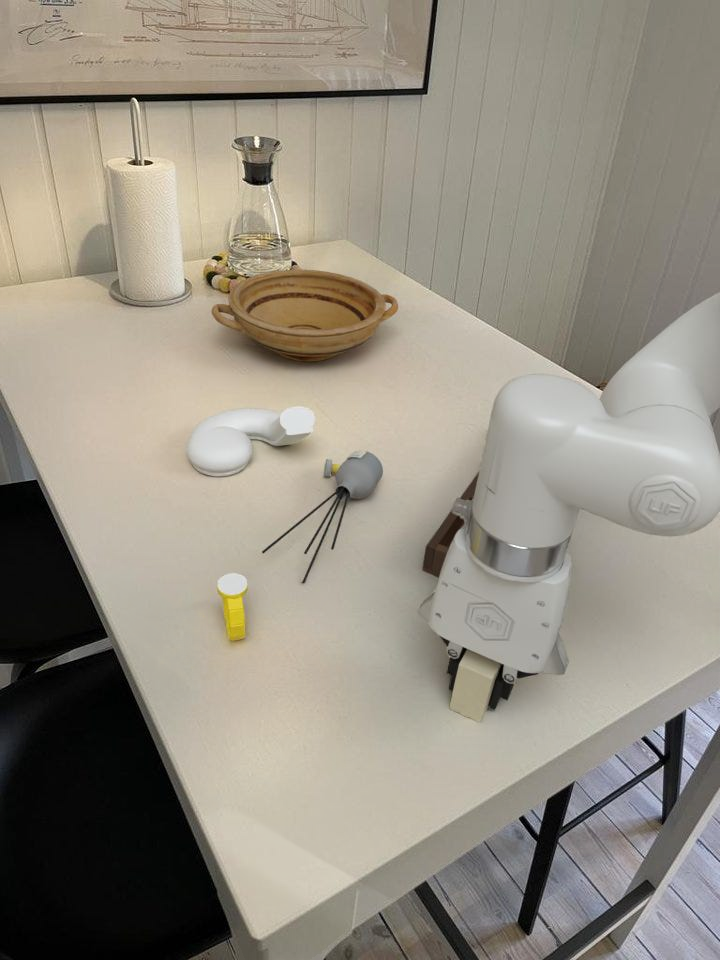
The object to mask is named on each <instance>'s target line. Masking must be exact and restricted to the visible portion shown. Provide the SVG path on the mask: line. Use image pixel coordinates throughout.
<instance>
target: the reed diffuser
mask: <svg viewBox="0 0 720 960" xmlns="http://www.w3.org/2000/svg"><path fill="white" fill-rule="evenodd" d="M323 471H324V472H323V477H326V478H327V477H328V478H331V476H332V475H331V474H335V483H336V486H337V487H336V489H335V492H333V493H332V494H331V495H330V496H328V497H327V498H326V499H325V500H323V501H322V502H321V503H320V504H318V505H317V506H316V507H315V508H313V509H312V510H311V511H310V512H308V513H307V514H306V515H305V516H304V517H302V518H301V519H300V520H299V521H298V522H296V523H295V524H294V525H293V526H291V527H289V529H288V530H287V531H285V532H284V533H283V534H282V535H280V536H279V537H278V538H276V539H275V540H274V541H273V542H272V543H271V544H269V545H268V546H266V547H265V548H264V549H263V550H262V551H261V554H265V553H266V552H267V551H269V550H270V549H272V547H274V546H275V545H276V544H278V542H280V541H281V540H282V539H283V538H285V537H286V536H287V535H288V534H290V532H292V531H293V530H295V528H297V527H298V526H299V525H301V524H302V523H303V522H304V521H306V520H307V519H308V518H309V517H310V516H311V515H313V514H314V513H315V512H316V511H318V510H319V509H320V508H321V507H323V506H324V505H325V504H326V503H327V502H328V501H330V500H331V499H333V498H334V497H335V496H336V497H335V499H334V501H333V502H332V503H331V506H330V507H329V509H328V511H327V513H326V515H325V516H324V518H323V519H322V521H321V523H320V525H319V526H318V528H317V530H316V531H315V533H314V534H313V537H312V539H311V540H310V542H309V544H308V545H307V547H306V549H305V550H304V552H303V554H304V555H307V554H308V552H309V550H310V549H311V547H312V545H313V544H314V543H315V540H316V538H317V537H318V535H319V533H320V532H321V530H322V528H323V526H324V524H325V523H326V521H327V520H328V518H329V516H330V514H331V516H330V518H329V520H328V523H327V525H326V527H325V529H324V532H323V533H322V536H321V538H320V540H319V543H318V546H317V547H316V550H315V552H314V554H313V557H312V559H311V561H310V563H309V565H308V568H307V570H306V573H305V574H304V577H303V579H302V581H301V582H302V584H305V583H306V581H307V578H308V576H309V573H310V571H311V569H312V568H313V565H314V562H315V560H316V558H317V556H318V553H319V552H320V549H321V546H322V544H323V542H324V539H325V537H326V536H327V533H328V530H329V528H330V526H331V524H332V521H333V520H334V517H335V515H336V512H337V510H338V508H339V506H340V503H341V501H344V503H343V506H342V510H341V513H340V517H339V520H338V524H337V526H336V530H335V534H334V537H333V540H332V544H331V546H330V549H331V550H332V551H333V550H334V549H335V546H336V543H337V539H338V535H339V532H340V528H341V525H342V522H343V518H344V515H345V511H346V508H347V504H348V500H349V499H350V498H351V499H354V500H358V499H360V500H361V499H363V498H366V497H367V496H369V495H370V494H371V493H372V492H373V490H374V489H375V488H376V487H377V485H378V484H379V483H380V481H381V479H382V477H383V475H384V469H383V464H382V463H381V461H380V459H379V458H378V457H377V456H376V455H375V454H374V453H372V452H369V451H367V450H361V449H360V450H355V451H352V453H350V455H349V456H347V457H346V459H345V460H344V461H343V462H342V463H341V464H336V463H333V459H329V458H326V459H325V465H324V470H323ZM332 511H333V512H332ZM331 512H332V513H331Z"/></svg>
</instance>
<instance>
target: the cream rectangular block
mask: <svg viewBox="0 0 720 960" xmlns="http://www.w3.org/2000/svg"><path fill="white" fill-rule="evenodd" d="M501 666H502V664H501V663H499V662H497V661H494V660H492V659H489V658H487V657H485V656H483V655H480V654H478V653H476V652H473V651H471V650H469V649H467V650H466V652H465V654H464V656H463V658H462V660H461V661H460V663H459V667H458V671H457V675H456V680H455V684H454V688H453V691H452V694H451V697H450V701H449V706H448V710H452V711H453V712H455V713H457V714H460V715H462V716H464V717H467V718H468V719H471V720H472V721H475V722H478V724H482V721H483V719H484V717H485V714H487V713H486V712H487V710H488V708H489V706H488V704H489V700H490V696H491V693H492V689H493V686H494V682H495V679H496V677H497V675H498V673H499V671H500V669H501Z"/></svg>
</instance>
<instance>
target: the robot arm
mask: <svg viewBox="0 0 720 960" xmlns="http://www.w3.org/2000/svg"><path fill="white" fill-rule="evenodd" d="M719 409H720V292H717V293H716V294H713V295H712V296H710V297H708V298H706V299H705V300H703V301H700V303H698V304H697V305H694V306H693V307H692V308H690V309H689V310H687V311H686V312H685V313H683V314H682V315H681V316H679V317H678V318H677V319H675V320H674V321H673V322H671V323H670V324H669V325H668V326H666V327H665V328H664V329H663V330H662V331H661V332H660V333H658V334H657V335H656V336H655V337H654V338H653V339H651V340H650V341H649V342H647V344H645V345H644V346H643V347H642V348H641V349H640V350H638V351H637V352H636V353H635V354H634V355H633V356H632V357H630V359H628V360H627V361H626V362H625V363H624V364H623V365H622V366H621V367H620V368H619V369H618V370H617V371H616V372H615V373H614V374H613V376H612V377H611V378H610V380H608V382H607V384H606V385H605V387H604V388H603V390H602V392H601V395H600V397H599V396H598V395H597V394H596V393H594V391H592V389H590V388H588V387H587V386H585V385H584V384H582V383H580V382H578V381H576V380H573V379H571V378H567V377H564V376H560V375H557V374H549V373H531V374H524V375H521V376H518V377H515V378H512V379H511V380H509V381H507V382H506V383H505V384H504V385H503V386H502V387H501V388H500V389H499V390H498V393H496V396H495V398H494V401H493V405H492V407H491V412H490V417H489V421H488V427H487V431H486V432H487V433H486V436H485V442H484V448H483V452H482V456H481V461H480V465H479V466H480V467H479V470H478V472H479V475H478V480H477V485H476V489H475V494H474V497H473V499H472V500H471V501H470V500H466V501H465V500H463V499H460V497H457V498H456V499H455V501H454V502H453V505H452V508H451V510H452V514H455V515H457V516H460V519H463V520H464V525H463V526H462V528H461V529H460V530H459V531H458V532H457V533H456V535H455V537H454V539H453V541H452V543H451V545H450V547H449V550H448V552H447V555H446V557H445V560H444V563H443V566H442V569H441V572H440V575H439V577H438V579H437V583H436V586H435V590H434V591H433V592H432V593H431V594H429V595H428V596H427V597H426V598H425V599H424V600H423V601H422V603H421V604H420V606H419V607H418V609H417V613H418V614H419V616H421V617H422V619H423V620H425V621H426V622H427V623H428V625H429V627H430V628H431V630H432V631H433V632H434V633H435V634H437V635H438V636H439V638H440V639H441V640H442V642H443V643H444V644H445V646H446V647H447V648H446V652H445V653H446V655H447V656H448V657H449V659H448V664H447V667H446V668H447V669H446V674H447V675H448V676H451V677H450V682H449V686H448V690H449V691H451V692H453V688H454V684H455V680H456V675H457V671H458V667H459V663H460V661H461V660H462V658H463V656H464V654H465V652H466V650H467V649H469V650H471V651H473V652H476V653H478V654H480V655H483V656H485V657H487V658H489V659H492V660H494V661H497V662H499V663H501V664H502V666H501V669H500V671H499V673H498V675H497V677H496V679H495V682H494V686H493V689H492V693H491V696H490V700H489V704H488V708H489V709H491V710H493V711H496V709H497V707H498V705H499V702H500V700H501V699H502V700H504V701H509V699H510V696H511V694H512V691H513V689H514V685H515V683H516V682H517V681H518V679H523V678H528V677H533V676H538V675H539V674H540V673H541V674H542V675H552V676H553V675H554V676H562V675H564V674H565V673H566V671H567V668H568V666H569V657H568V655H567V652H566V649H565V646H564V643H563V639H562V637H561V635H560V634H561V633H560V631H561V628H562V623H563V620H564V616H565V613H566V609H567V603H568V597H569V592H570V586H571V575H572V558H571V554H570V552H569V551H568V547H569V545H570V541H571V538H572V534H573V532H574V529H575V526H576V523H577V518H578V516H579V512H580V510H583V511H585V512H588V513H590V514H592V515H595V516H598V517H600V518H602V519H604V520H607V521H610V522H612V523H615V524H617V525H619V526H622V527H624V528H627V529H629V530H633V531H636V532H639V533H642V534H646V535H651V536H658V537H665V538H666V537H668V538H669V537H671V538H672V537H682V536H686V535H690V534H693V533H695V532H698V531H700V530H702V529H704V528H705V527H707V526H708V525H710V524H711V523H712V522H713V521H714V520H715V518H716V517H717V516H718V515H719V514H720V450H719V447H718V444H717V439H716V436H715V432H714V429H713V425H712V422H711V419H710V416H711V415H712V414H713V413H715V412H716V411H718V410H719Z"/></svg>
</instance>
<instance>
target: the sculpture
mask: <svg viewBox="0 0 720 960" xmlns="http://www.w3.org/2000/svg"><path fill="white" fill-rule="evenodd" d="M315 422H316V416H315V413H314V412H313V411H312V409H310V408H308V407H306V406H299V405H298V406H291V407H288V408H286V409H284V410H283V411H282V412H281V413H280V412H278V411H276V410H272V409H267V408H258V407H257V408H256V407H244V408H235V409H234V408H233V409H229V410H225V411H221V412H218V413H214V414H212V415H210V416H208V417H206V418H204V419H203V420H202V421H200V422H199V423H198V424H197V425H196V426H195V427H194V428H193V430H192V431H191V433H190V435H189V437H188V440H187V444H186V456H187V458H188V460H189V462H190V463H191V464H192V466H193V468H194V469H195V470H196V471H197V472H199V473H201V474H203V475H206V476H210V477H228V476H232V475H236V474H238V473H240V472H242V471H243V470H244V469H245V468H246V467H247V466H248V464H249V462H250V459H251V457H252V456H253V452H254V448H253V443H252V440H256V441H261V442H265V443H266V444H269V445H271V446H272V447H273V446H274V447H281V446H288V445H289V446H290V445H296V444H299V443H300V442H302V441H303V440H305V439H306V438H307V437H309V436H310V434H311V433H313V432H314V428H313V426H314V424H315Z"/></svg>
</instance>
